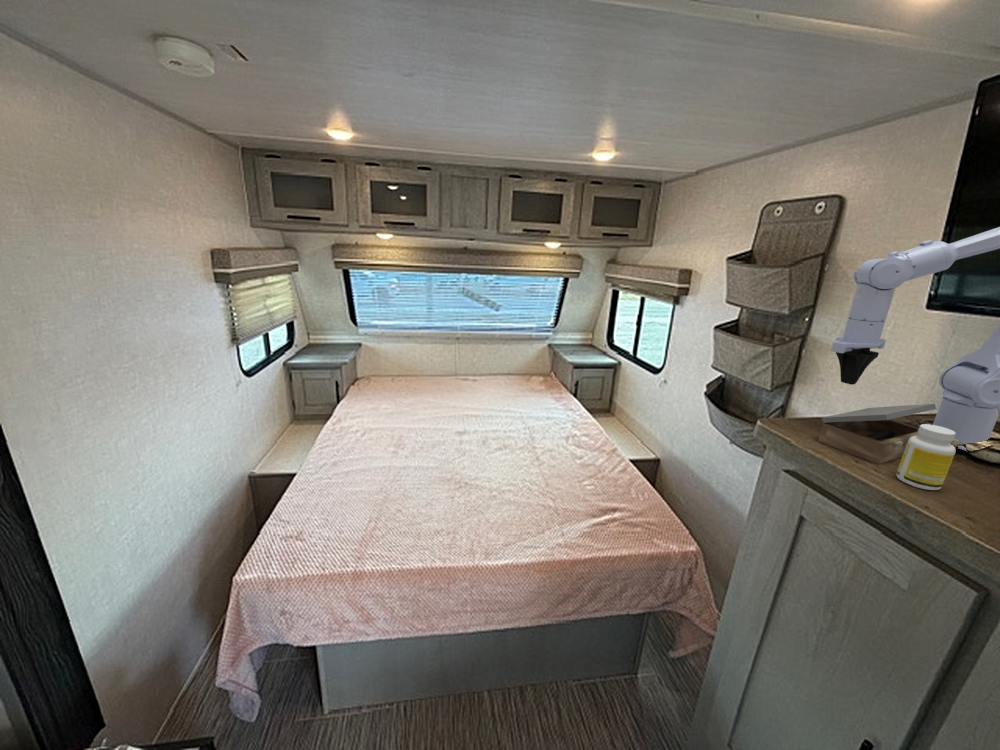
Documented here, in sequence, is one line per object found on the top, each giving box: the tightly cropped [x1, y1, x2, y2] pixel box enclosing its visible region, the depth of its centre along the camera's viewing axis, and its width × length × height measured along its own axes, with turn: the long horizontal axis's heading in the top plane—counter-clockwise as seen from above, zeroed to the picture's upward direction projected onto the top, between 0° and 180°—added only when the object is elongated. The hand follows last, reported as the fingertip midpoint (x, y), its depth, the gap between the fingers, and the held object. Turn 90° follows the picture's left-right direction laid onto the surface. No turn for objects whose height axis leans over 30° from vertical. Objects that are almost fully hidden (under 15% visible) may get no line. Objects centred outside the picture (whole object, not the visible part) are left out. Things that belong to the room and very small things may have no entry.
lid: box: [821, 403, 937, 424], centre depth 78 cm, size 16×10×1 cm, turn 112°
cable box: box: [817, 419, 919, 465], centre depth 79 cm, size 16×10×4 cm, turn 112°
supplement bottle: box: [895, 423, 957, 491], centre depth 65 cm, size 5×5×10 cm
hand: (848, 383), depth 85 cm, fingers closed
